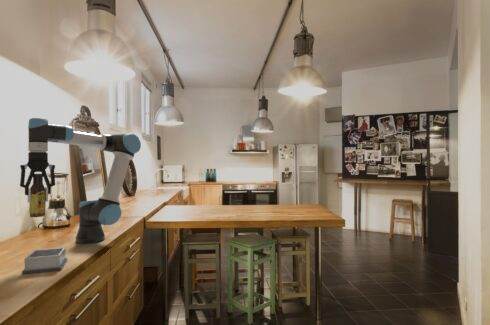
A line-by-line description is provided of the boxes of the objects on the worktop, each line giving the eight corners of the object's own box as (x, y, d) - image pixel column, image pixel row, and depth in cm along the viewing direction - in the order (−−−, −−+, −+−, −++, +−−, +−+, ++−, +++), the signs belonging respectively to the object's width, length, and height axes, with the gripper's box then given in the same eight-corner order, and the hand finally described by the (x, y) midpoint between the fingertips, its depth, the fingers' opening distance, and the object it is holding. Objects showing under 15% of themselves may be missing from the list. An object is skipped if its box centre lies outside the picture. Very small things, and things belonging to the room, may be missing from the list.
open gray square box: (32, 263, 142) (32, 249, 142) (67, 260, 147) (67, 247, 147) (22, 274, 129) (22, 259, 129) (61, 270, 134) (61, 255, 134)
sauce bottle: (40, 217, 144) (40, 173, 144) (26, 217, 144) (25, 174, 143) (48, 215, 150) (48, 173, 150) (35, 215, 150) (34, 173, 150)
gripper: (14, 151, 138) (13, 204, 138) (63, 152, 151) (63, 200, 151) (11, 151, 143) (11, 202, 143) (59, 152, 156) (59, 199, 156)
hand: (37, 201), depth 147 cm, fingers closed on sauce bottle, 6 cm apart
